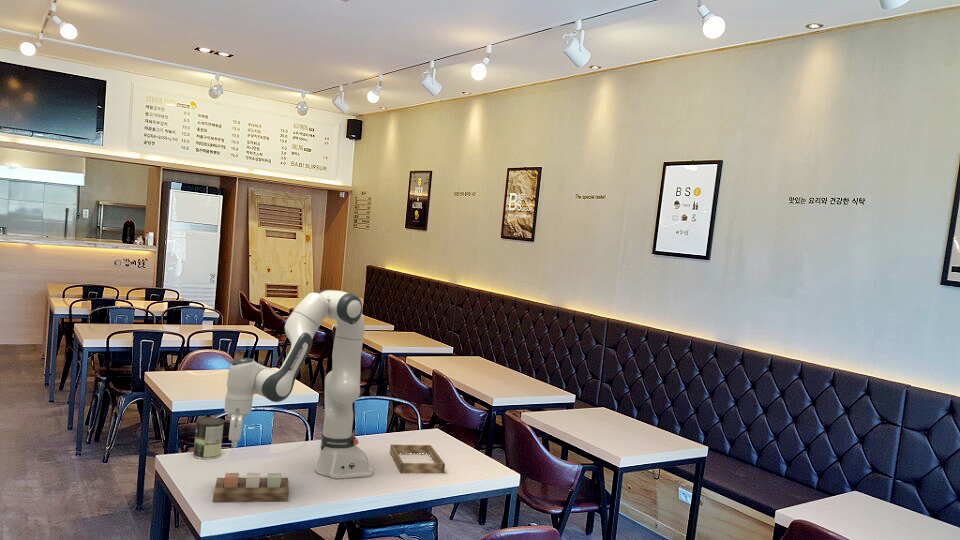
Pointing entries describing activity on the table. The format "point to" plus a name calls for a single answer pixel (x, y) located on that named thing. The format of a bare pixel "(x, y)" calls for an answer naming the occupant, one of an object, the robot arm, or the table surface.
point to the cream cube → (252, 480)
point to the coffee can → (208, 438)
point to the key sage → (274, 480)
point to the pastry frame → (417, 467)
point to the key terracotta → (231, 480)
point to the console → (251, 492)
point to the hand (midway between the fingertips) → (234, 446)
